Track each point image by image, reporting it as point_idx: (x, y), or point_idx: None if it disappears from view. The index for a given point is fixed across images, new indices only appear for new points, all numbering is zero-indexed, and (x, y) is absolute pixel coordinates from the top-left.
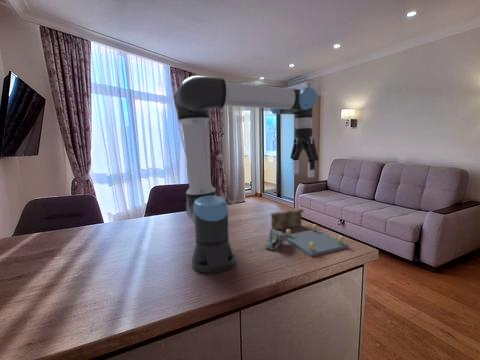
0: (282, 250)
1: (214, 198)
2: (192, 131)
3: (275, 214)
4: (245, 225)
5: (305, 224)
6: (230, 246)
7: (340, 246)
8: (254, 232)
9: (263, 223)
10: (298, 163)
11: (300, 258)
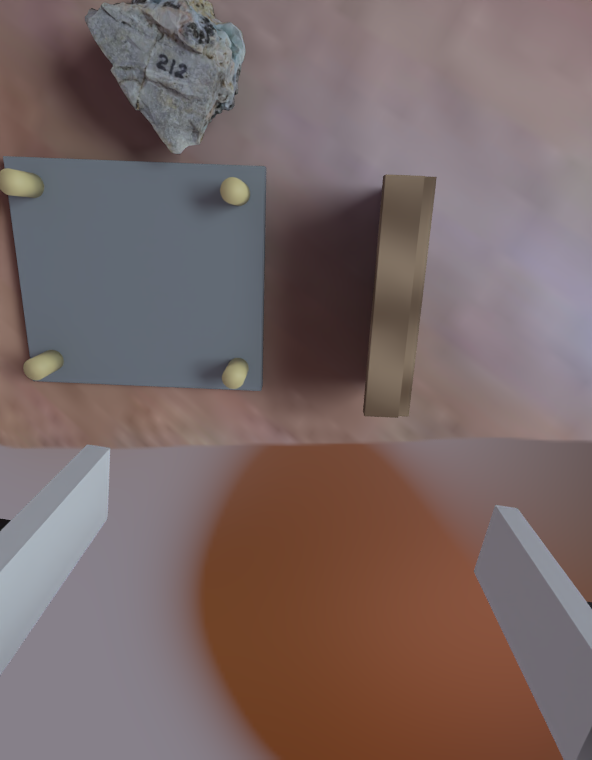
0: None
1: None
2: None
3: (384, 181)
4: (584, 65)
5: None
6: None
7: (29, 337)
8: (430, 57)
9: (539, 205)
10: (541, 697)
11: (12, 98)
